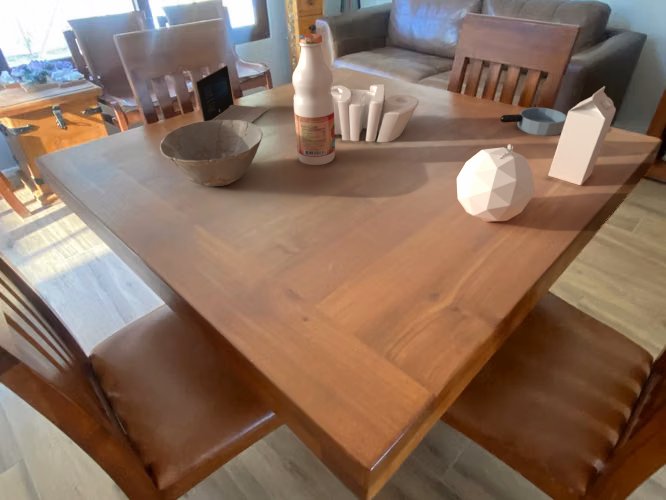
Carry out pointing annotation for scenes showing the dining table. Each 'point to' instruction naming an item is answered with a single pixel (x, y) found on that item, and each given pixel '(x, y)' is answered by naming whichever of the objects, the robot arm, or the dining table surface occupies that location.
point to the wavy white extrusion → (371, 113)
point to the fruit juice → (313, 104)
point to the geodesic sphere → (495, 184)
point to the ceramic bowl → (213, 150)
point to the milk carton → (582, 138)
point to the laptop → (222, 99)
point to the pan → (538, 121)
